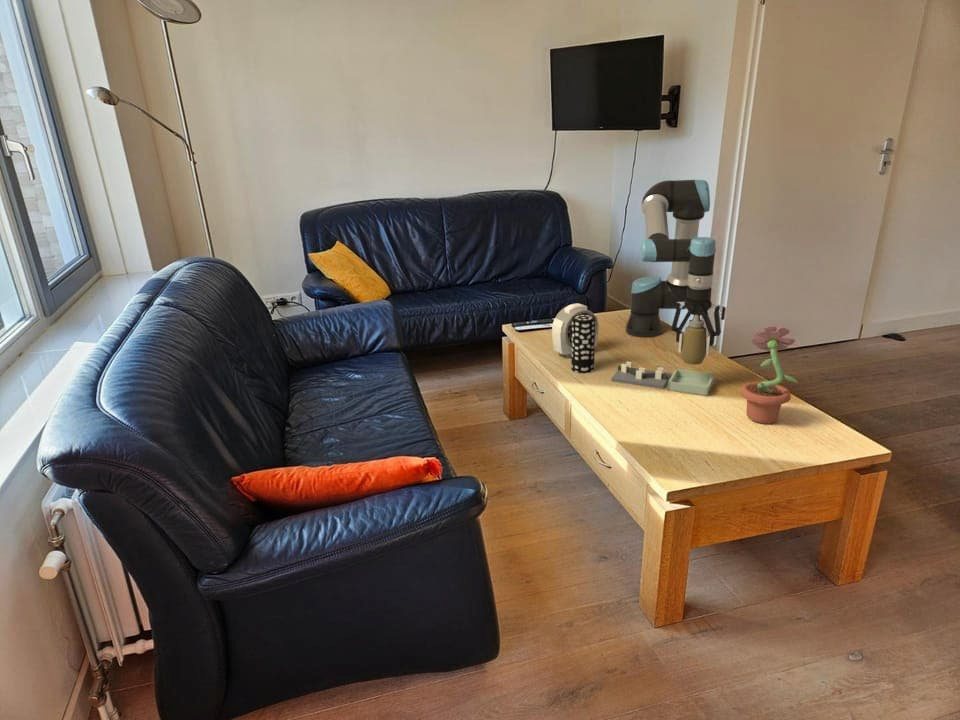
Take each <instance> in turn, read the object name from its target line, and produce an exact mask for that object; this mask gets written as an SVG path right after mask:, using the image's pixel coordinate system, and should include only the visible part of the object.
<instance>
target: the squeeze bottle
mask: <svg viewBox="0 0 960 720" xmlns="http://www.w3.org/2000/svg"><path fill="white" fill-rule="evenodd" d="M704 325H705V321H704V319H701V316H700V315H693V318H692V319H689V321H688V326H686V327H685V330H684V335H683V345H682V350H681V355H682V359H683V362H684V363H686V364H689V365H701V364H702V363H703V362H704V359H705V358H706V357H707V356H706V347H707V327H706V326H704Z"/></svg>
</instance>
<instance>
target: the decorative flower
mask: <svg viewBox="0 0 960 720" xmlns="http://www.w3.org/2000/svg"><path fill="white" fill-rule="evenodd" d="M790 332H791V331H790V330H789V329H788V328H786V327H782V326H781V327H779V328H778V327H777V326H774V325H769V326H765V327H764V329H763V330H761V329H758V330H756V331H755V332H754V334H753V338H751V342H752V344H753V345H755V346H756V347H757V348H758V349H760V350H763V351H768V352H770V357H771V358H767V359H765V360H764V361H762V363H761V364H759V365H760V367H767V366H769V365H770V364H771V363H773V367H774V370H775V373H776V378H774V379H772V380H766V381H750V382H746V383H745V384H743V385H742V386H741V387H740V390H739V391H740V392H739V394H740V396H741V398H743V399H745V400H746V416H747V418H748V419H749V420H750V421H752V422H755V423H759V424H765V425H766V424H773V423H775V422H777V421H778V419H779V415H780V411H781V407H782V405H785V404H786V403H789V402H790V401H791V397H792V395H791V393H790V391H789V389H788V388H786V387H784V386H783V385H780V384H781V383H782V382H783V380H784V378H785V379H786V380H787V381H789V382H792V383H797V384H798V383H799V382H798V381H797V380H796V379H795V378H794V377H793V376H790V375H787V374H784V371H783V368H782V366H781V362H780V359H779V353H778V351H781V350H786V349H789V346H791V345H793V344H794V343H795V342H796V339H795V338H789V337H788V336H786V335H788V334H790Z"/></svg>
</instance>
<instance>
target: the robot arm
mask: <svg viewBox="0 0 960 720" xmlns="http://www.w3.org/2000/svg"><path fill="white" fill-rule="evenodd" d="M709 187H710V186H709V182H708V181H707V180H705V179H695V178H694V179H683V180H682V179H678V180H676V179H674V180H663V181H660V182H657V183H655V184H654V185H653V186H651V187H649V189H648V190H647V191H646V192H645V194H644V195H643V197H642V201H641V210H642V213H643V214H644V220H645V221H644V222H645V223H644V224H645V238H646V239H643V240H641V243H640V260H641V261H642V262H647V263H671V272H670V274H668V275H667V276H666V280H662V279H661V276H657V275H656V276H655V275H654V276H652V275H651V276H643V277H639V278H637V279H635V280H633V282H632V285H631V291H630V293H631V298H630V299H631V300H630V314H629V317H628V320H627V322H626V324H625V332H626V333H627V334H628V335H630V336H632V337H638V338H639V337H641V338H652V337H653V338H654V337H656V336H660V335H661V334H662V333H663V325H662V322H661V317H660V309H661V310H675V313H674V317H673V321H672V325H671V328H670V330H671V332H675V333H676V337H675V341H676V343H678V353H681V354H682V352H681V350H682V345H683V340H684V334H685V331H682V330H683V328H684V327H685V325H686V323H687V322H688V319H689V320H690V317H691V316H694V315H700V317H702V320H703V321H704V325H705V328H706V330H707V331H708V336H706V356H705V357H709V355H710V350H711V347H713V346H714V344H715V337H719V336H721V333H722V330H721V321H720V320H721V319H720V309H721V304H713V303H712V290H713V289H712V286H713V280H714V279H713V278H714V265H715V258H716V257H715V255H716V251H717V248H716V245H717V243H716V240H715V238H711V237H707V236H698V235H699V230H700V229H699V228H700V221H701V220H702V219H704V217H705V213H707V212H710V207H711V198H710V197H711V194H710V188H709ZM667 213H672V217H673V218H674V219H675V230H674V238H670V236H669V235H670V234H669V225H668V224H669V223H668V214H667ZM710 309H711V310H712V312H713V317H714V327H713V325H712V321H711V319H710V317H709V312H708V311H709V310H710ZM682 310H687V312H686V314H685V316H684V318H683V319H682V321H681V323H680V325H679V326H678V323H679V319H680V316H681V312H682ZM677 326H678V327H677ZM714 328H715V330H714Z"/></svg>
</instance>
